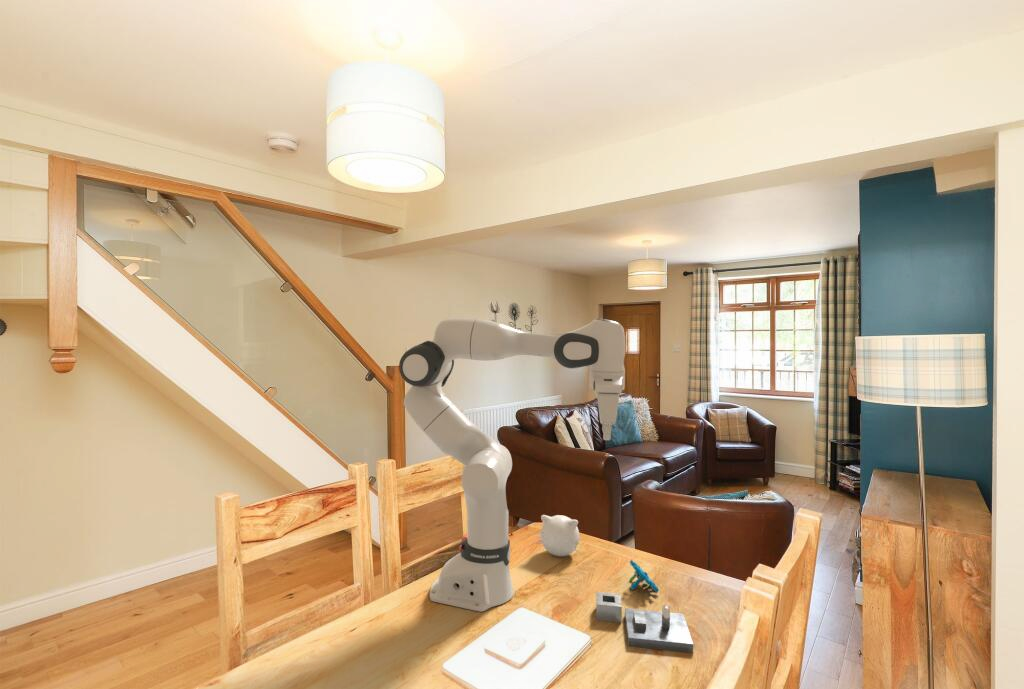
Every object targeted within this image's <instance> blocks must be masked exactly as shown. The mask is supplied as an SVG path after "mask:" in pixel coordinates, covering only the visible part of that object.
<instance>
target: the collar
mask: <svg viewBox="0 0 1024 689" xmlns="http://www.w3.org/2000/svg"><path fill="white" fill-rule="evenodd" d="M595 594H596V596H595V598H596V599H595V600H596V601H595V607H596V609H595V610H596V612H595V613H596V615H595V616H596V621H597V622H600V621H601V622H610V623H619V624H620V623H622V619H623V618H622V610H623V608H622V607H623V606H622V605H623V604H622V598H621V597H622V596H621V593H615V592H614V593H613V592H604V591H603V592H601V591H596V593H595Z"/></svg>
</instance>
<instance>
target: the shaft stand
mask: <svg viewBox="0 0 1024 689" xmlns="http://www.w3.org/2000/svg"><path fill="white" fill-rule="evenodd" d="M661 607H662V608H661V611H658V610H646V609H645V610H644V609H636V608H635V609H634V608H626V607H625V608H624V619H625V620H624V621H625V629H626V636H627V645H628V646H627V647H630V648H631V647H633V648H643V649H651V650H652V649H653V650H661V651H671V652H672V651H673V652H681V653H690V654H693V653H694V642H693V639H692V636H691V633H690V631H689V630H690V629H689V626H688V624H687V620H686V618H685V615H684V613H681V612H680V613H679V612H671V606H670V605H667V604H664V605H662V606H661Z"/></svg>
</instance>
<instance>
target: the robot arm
mask: <svg viewBox="0 0 1024 689" xmlns="http://www.w3.org/2000/svg"><path fill="white" fill-rule="evenodd" d="M625 335H626V334H625V329H624V327H623V325H622V324H621V323H620V322H618V321H614V320H610V319H606V318H605V319H604V318H595V319H593V320H592V321H591V322H589V323H588V324H586V325H583V326H581V327H579V328H576V329H574V330H570V331H567V332H564V333H561V334H548V333H547V334H546V333H536V332H527V331H522V330H520V329H516V328H514V327H511V326H509V325H506V324H503V323H500V322H497V321H492V320H489V319H482V318H472V317H470V318H469V317H458V318H457V317H455V318H446V319H444V320H441V321H440V322H439V323H438V324H437V326H436V328H435V331H434V337H433V339H432V341H431V340H426V341H424V342H422V343H418V344H417V345H414V346H412V347H411V348H409V349H408V350H406V351H405V352H404V353H403V354H402V356H401V358H400V360H399V364H398V371H399V373H400V376H401V378H402V379H403V380H404V382H406V383H407V384H409V385H410V386H411V388H409V389H408V391H407V392H406V394H405V396H404V397H403V398H404V399H403V406H404V408H405V410H406V412H407V413H408V414H409V416H410V417H411V419H412V420H413V422H414V423H415V424H416V425H417V426H418V428H419V430H421V431H422V433H424V434H425V435H426V436H427V437H428V438H429V439H430V441H431V442H432V443H433V444H434V445H435V446H436V447H437V448H438V449H439V450H440V451H441V452H442V453H443V454H444V455H447V456H450V457H452V458H453V459H455V460H456V461H458V462H459V463H461V464H462V465H463V466H464V467H463V470H462V473H461V487H462V489H463V494H464V498H465V504H466V505H465V506H466V512H467V513H466V514H467V517H466V518H467V523H466V524H467V525H466V526H467V530H466V531H467V534H466V533H465V534H464V535H463V536H462V538H461V542H460V544H459V546H458V547H459V549H458V550H459V552H458V553H457V554H456V555H455V556H453V557H451V558H450V559H449V560H447V561H446V562H445V564H444V565H443V567H441V571H440V574H439V576H438V577H437V578H436V579H435V581H434V582H433V583H432V585H431V586H430V589H429V599H430V601H431V602H434V603H439V604H444V605H449V606H453V607H458V608H462V609H466V610H471V611H475V612H480V613H481V612H486V611H487V610H488V609H489V610H490V608H493V607H496V606H500V605H503V604H504V603H505V604H506V603H508V601H510V600H511V599H512V598H513V597H514V594H515V591H514V587H513V582H512V578H511V571H510V561H511V543H510V539H509V513H510V512H509V509H508V505H507V504H508V503H507V494H506V492H507V491H506V487H507V480H508V477H509V476H510V475H511V472H512V469H513V459H512V454H511V453H510V451H509V449H508V448H507V447H506V446H504V445H502V444H500V443H498V442H497V441H496V440H495V439H494V438H492V437H491V435H489V434H487V433H486V432H484V431H483V430H481V428H480V427H478V426H477V425H476V424H474V423H473V422H472V421H471V420H470V419H469V418H468V417H467V416H466V415H465V414H464V413H463V412H462V410H461V409H459V407H458V406H457V405H456V404H455V403H453V401H451V399H450V398H449V397H448V396H447V395H446V394H445V393H444V391H443V388H442V387H444V386H445V385H446V384H447V381H448V379H449V377H450V376H451V374H452V372H453V369H454V365H455V360H457V359H463V360H464V359H465V360H473V361H499V360H504V359H506V358H511V357H515V356H534V357H545V358H553V359H555V360H556V361H557V363H558V364H559V365H561V366H562V367H564V368H566V369H570V370H575V369H580V368H583V367H589V389H591V390H592V391H594V396H596V398H597V399H596V400H597V405H598V406H597V407H598V415H599V422H600V424H601V426H602V427H601V430H602V433H603V434H602V435H603V436H602V439H603V440H604V441H611V438H612V437H611V434H612V428H613V425H616V422H617V417H618V409H619V401H620V400H619V399H620V394H622V392H623V391H624V390H625V388H626V387H625V386H626V383H625V382H626V381H625V380H626V379H625V378H626V369H625V364H624V363H625V362H624V361H625V357H626V336H625Z"/></svg>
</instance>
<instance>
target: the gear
mask: <svg viewBox="0 0 1024 689" xmlns="http://www.w3.org/2000/svg"><path fill="white" fill-rule="evenodd" d="M629 564H630V566H632V568H633V569H634V572H633V573H634V574H633V575H632V576H631V577H630V578H629V581H630V582H632V581H634V580H635V579H636V580H635V581H634V582H633V583H632V584H631V586H629V587H630V589H631V590H632V591H633V590H635V589H636V587H638V586H639V584H640V583H641V584H642V583H643V582H645V583H646V584H647V585H648V586H650V588H651V589H652V590H653V591H655V592H656V593H657V592H658V591H659V590H660V589H659V588H658V586H657V585H656V584H655V582H654V581H653V580H652V579H651V578H650V576H649V574H648V573H647V571H644V570H643V569H642V568H641V566H640V565H638V564H637V563H636V562H635V561H633V559H631V560H630V561H629Z"/></svg>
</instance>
